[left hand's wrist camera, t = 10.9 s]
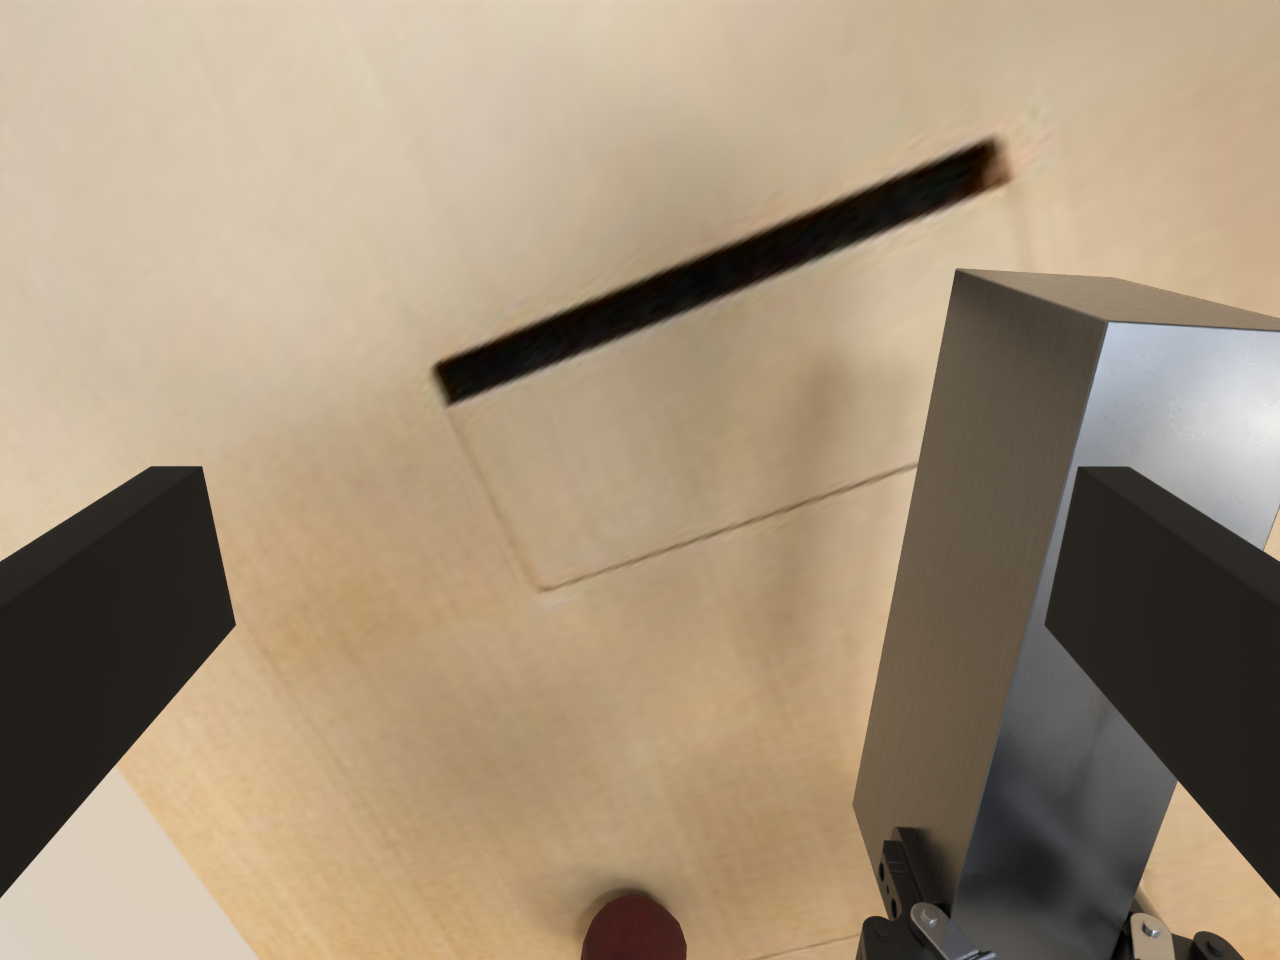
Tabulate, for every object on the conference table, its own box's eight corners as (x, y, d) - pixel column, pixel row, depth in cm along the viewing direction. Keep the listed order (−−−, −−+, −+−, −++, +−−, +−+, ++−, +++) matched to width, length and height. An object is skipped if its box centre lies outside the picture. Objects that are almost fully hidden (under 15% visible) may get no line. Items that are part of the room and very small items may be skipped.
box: (955, 268, 30) (1107, 320, 20) (1115, 277, 30) (1345, 334, 20) (852, 805, 39) (921, 1023, 29) (974, 811, 39) (1084, 1031, 29)
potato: (605, 958, 62) (601, 1052, 55) (569, 886, 59) (560, 977, 53) (697, 936, 61) (704, 1029, 55) (665, 862, 58) (668, 951, 52)
